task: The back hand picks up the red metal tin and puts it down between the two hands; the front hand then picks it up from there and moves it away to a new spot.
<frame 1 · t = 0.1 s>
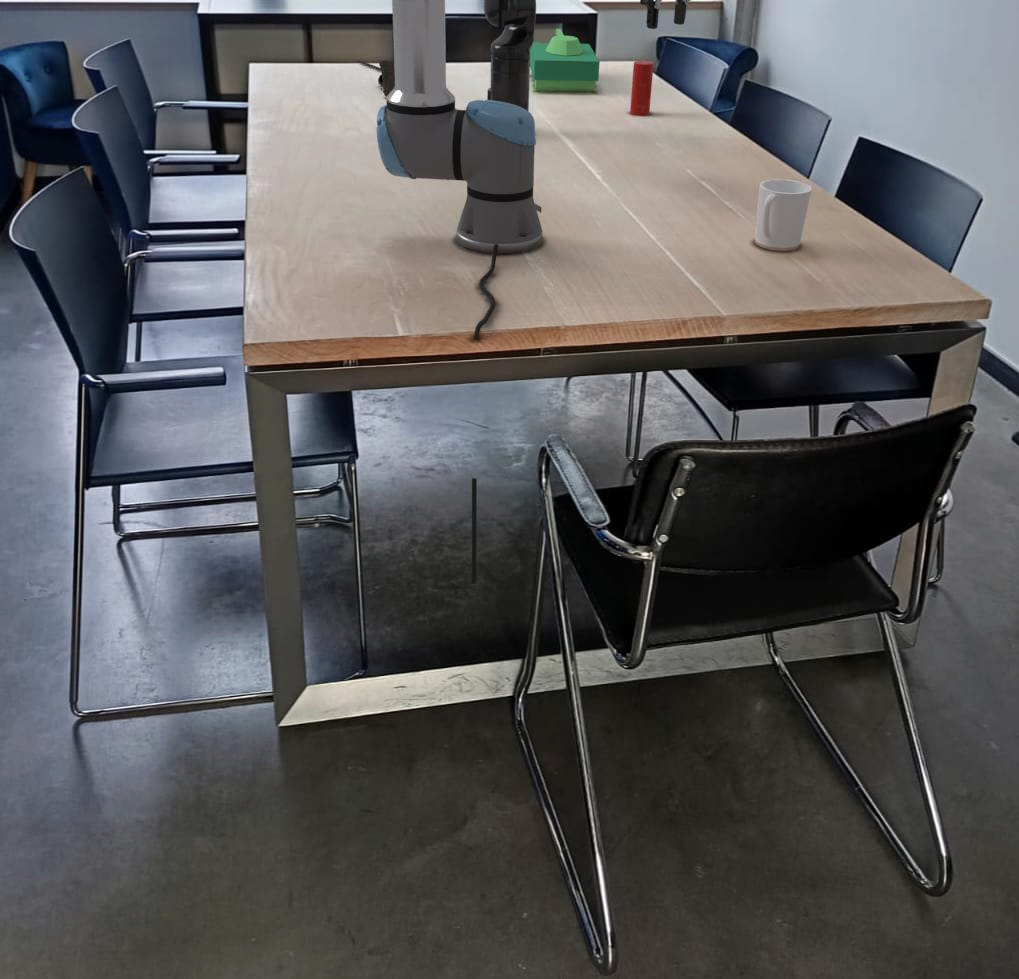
front hand: (468, 26, 224), 28 cm above the table, tool pointing down, fingers open, 13 cm apart
back hand: (665, 26, 221), 29 cm above the table, tool pointing down, fingers open, 8 cm apart
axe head: (403, 91, 300), on the table
mug: (774, 245, 196), on the table
toy tank: (560, 81, 316), on the table
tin: (639, 113, 283), on the table
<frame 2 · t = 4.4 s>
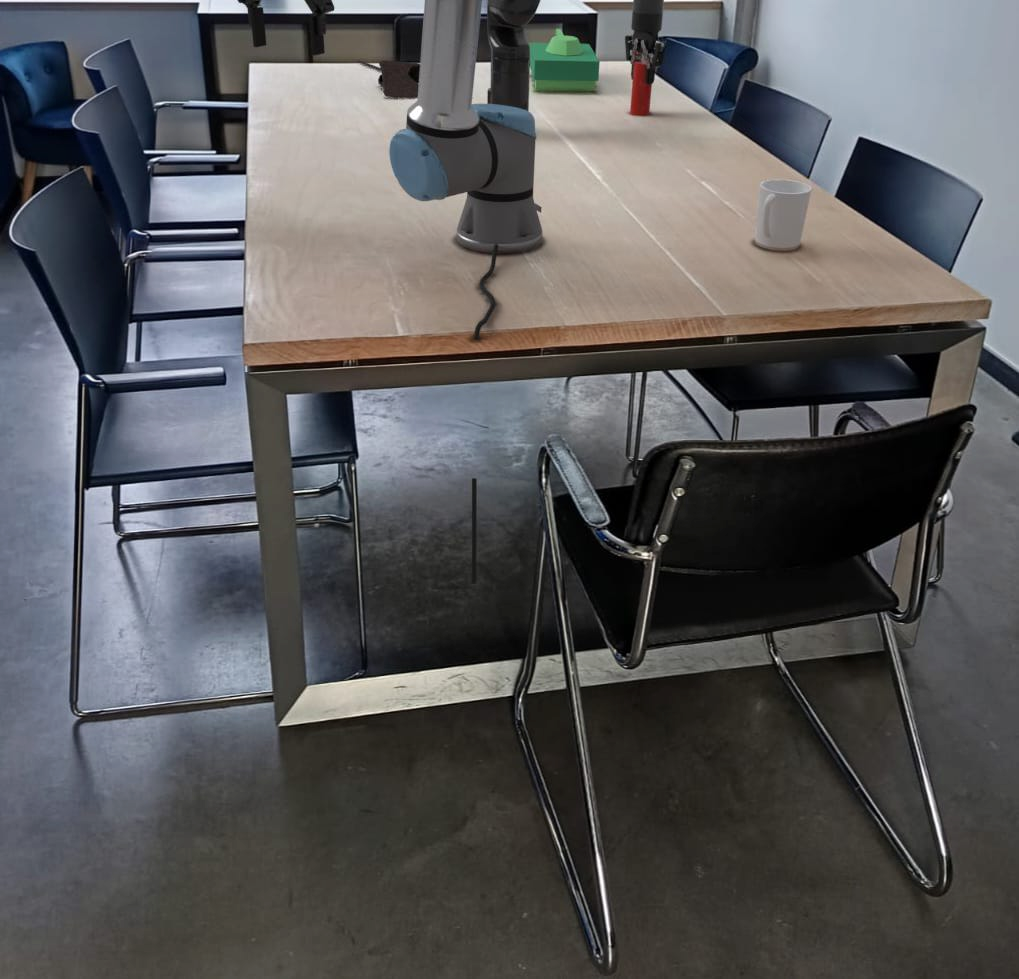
front hand: (288, 50, 200), 28 cm above the table, tool pointing down, fingers open, 13 cm apart
back hand: (642, 81, 279), 8 cm above the table, tool pointing down, fingers closed on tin, 5 cm apart
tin: (639, 113, 283), on the table, touching back hand
everything else where it was.
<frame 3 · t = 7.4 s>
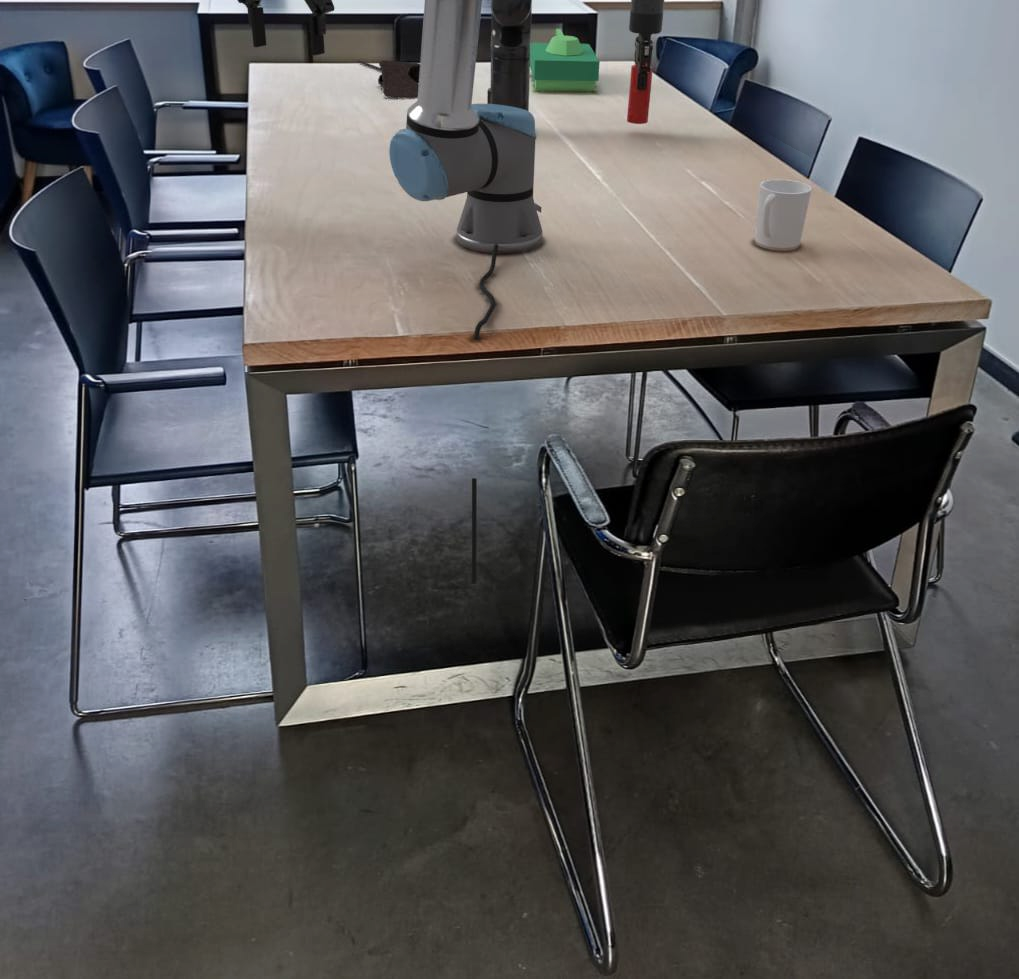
front hand: (288, 50, 200), 28 cm above the table, tool pointing down, fingers open, 13 cm apart
back hand: (640, 87, 259), 11 cm above the table, tool pointing down, fingers closed on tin, 5 cm apart
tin: (637, 121, 263), point 3 cm above the table, touching back hand
everything else where it was.
when the back hand's fingers open (9 cm above the table, at t = 10.6 s): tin stays where it is, on the table.
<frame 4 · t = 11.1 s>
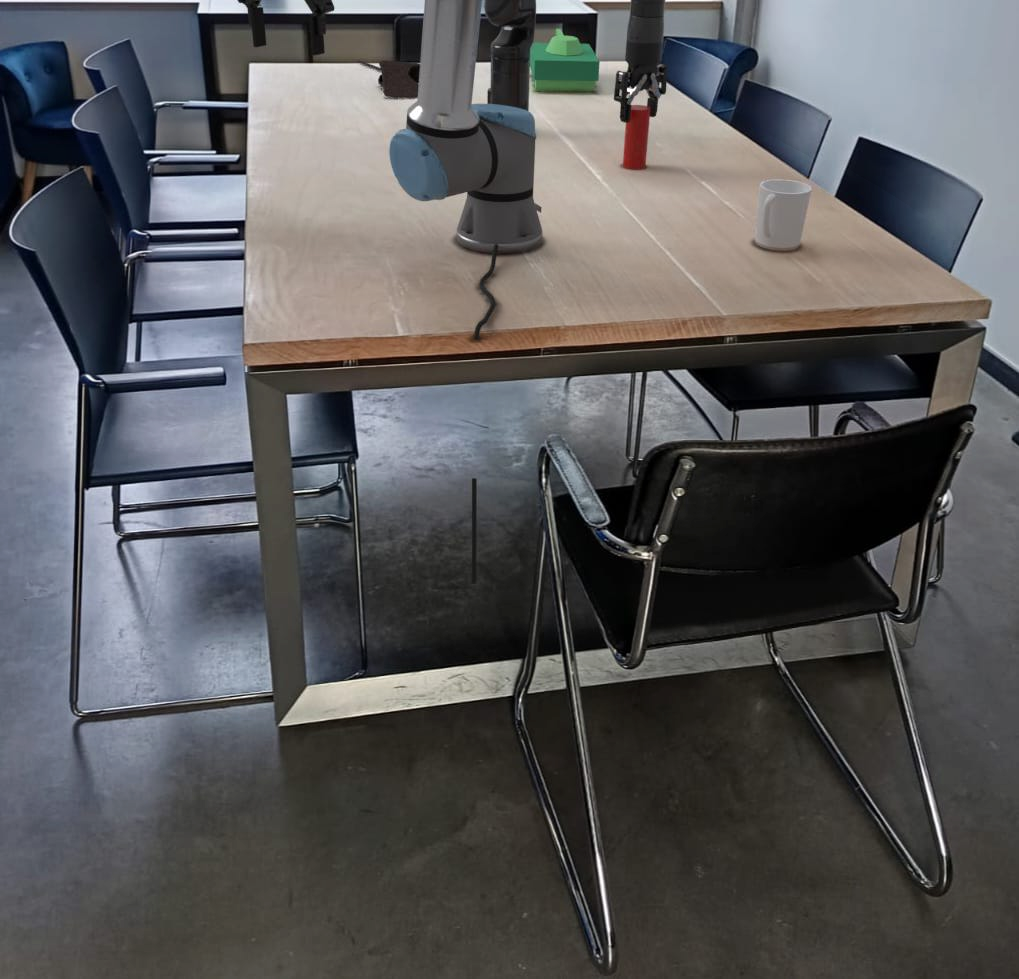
front hand: (288, 50, 200), 28 cm above the table, tool pointing down, fingers open, 13 cm apart
back hand: (638, 119, 234), 10 cm above the table, tool pointing down, fingers open, 8 cm apart
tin: (634, 166, 240), on the table
everything else where it was.
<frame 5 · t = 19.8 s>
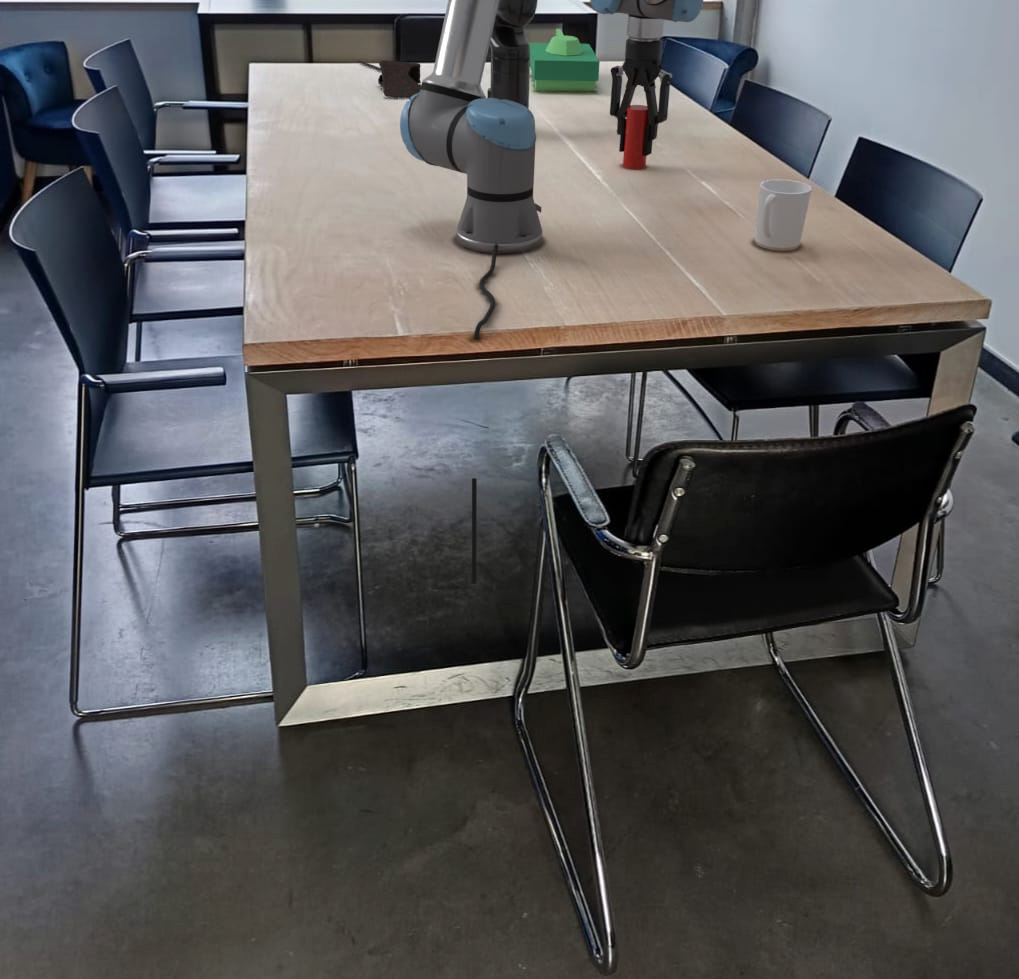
front hand: (635, 152, 238), 3 cm above the table, tool pointing down, fingers closed on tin, 5 cm apart
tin: (634, 166, 240), on the table, touching front hand
everything else where it was.
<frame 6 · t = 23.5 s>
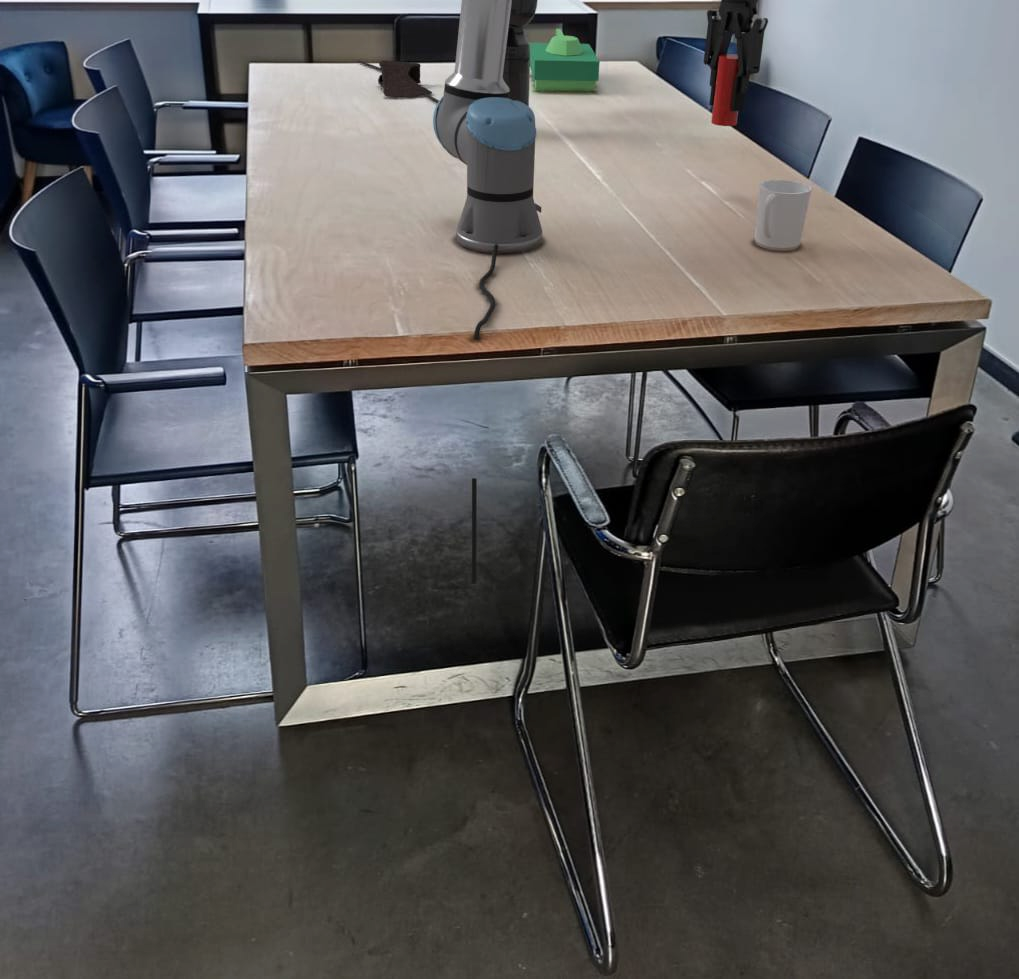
front hand: (725, 107, 215), 17 cm above the table, tool pointing down, fingers closed on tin, 5 cm apart
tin: (723, 123, 217), point 14 cm above the table, touching front hand
everything else where it was.
when the front hand's fingers open (4 cm above the table, at t = 27.5 s): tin stays where it is, on the table.
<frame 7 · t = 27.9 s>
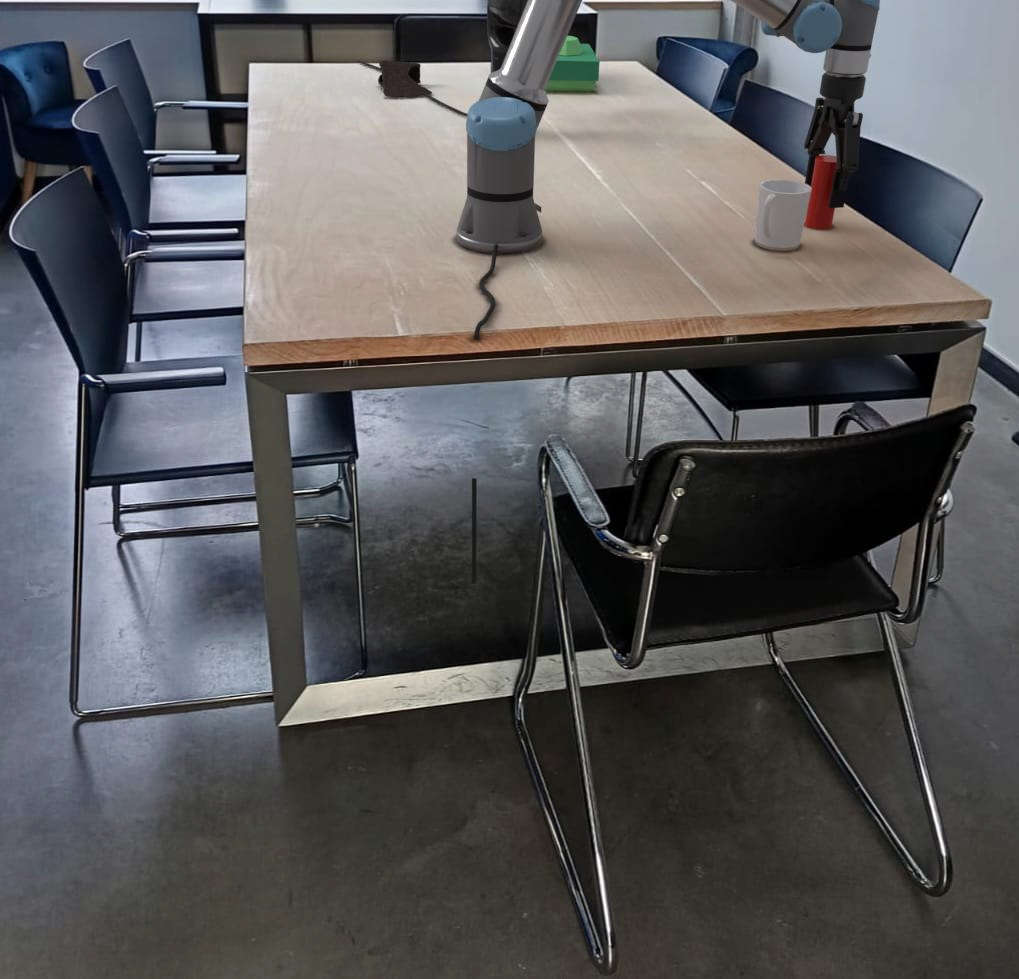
front hand: (823, 198, 204), 5 cm above the table, tool pointing down, fingers open, 10 cm apart
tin: (818, 225, 207), on the table
everything else where it was.
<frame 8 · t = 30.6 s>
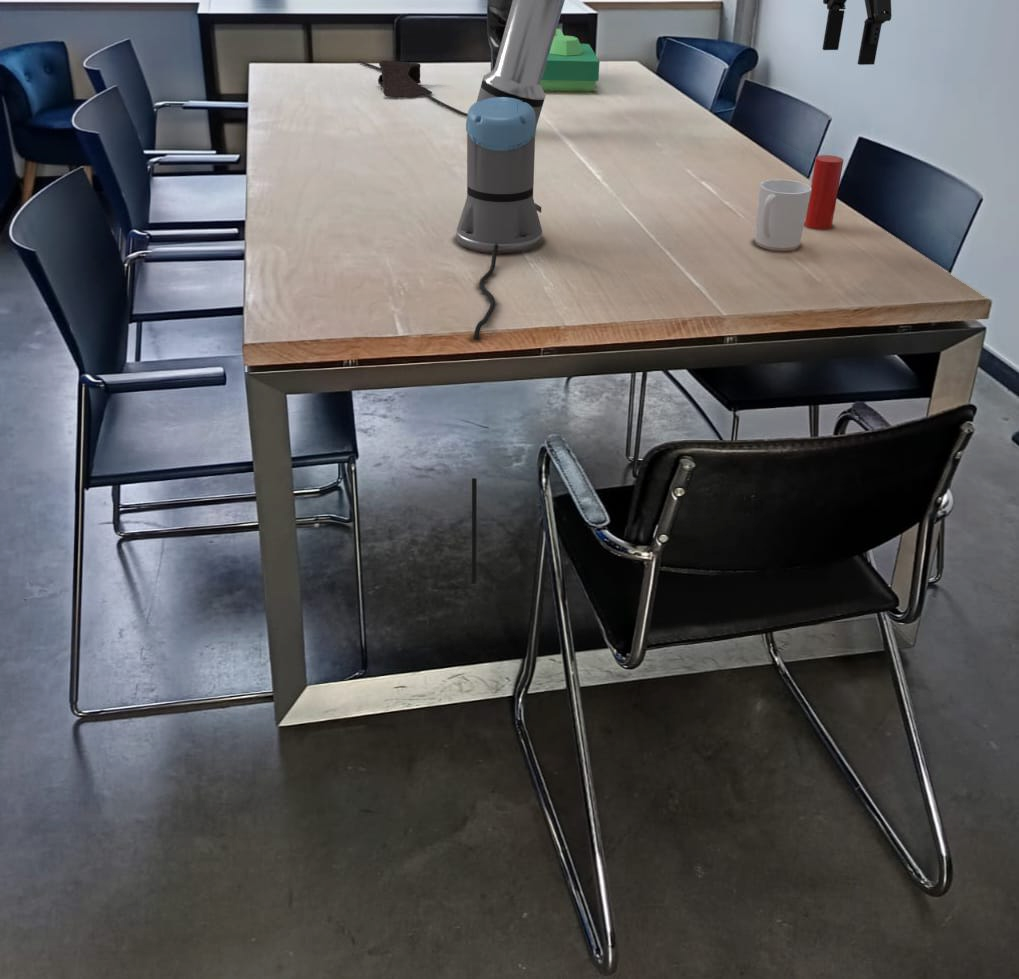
front hand: (847, 57, 191), 30 cm above the table, tool pointing down, fingers open, 13 cm apart
nothing on the table moved.
at the end: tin inside the target area (0.1 cm from its centre), on the table; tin tilted 0°; the two hands never held the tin at the same time; the front hand is holding nothing; the back hand is holding nothing; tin at rest at the end (0.0 cm/s) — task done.
